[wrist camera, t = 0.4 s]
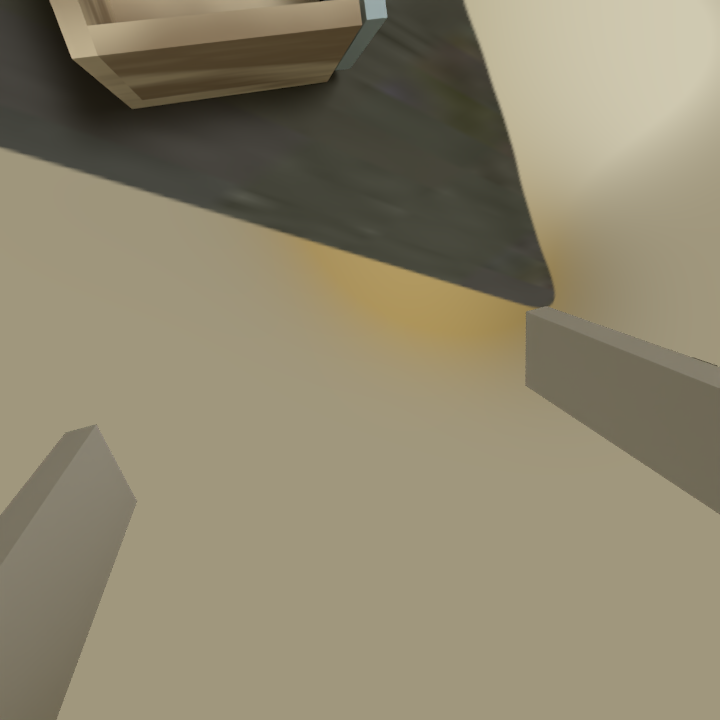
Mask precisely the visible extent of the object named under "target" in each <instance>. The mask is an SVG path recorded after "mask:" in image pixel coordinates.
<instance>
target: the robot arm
mask: <svg viewBox="0 0 720 720" xmlns="http://www.w3.org/2000/svg"><path fill="white" fill-rule="evenodd" d="M526 386H527V387H529V388H530V389H532V390H533V391H535V392H536V393H538V394H539V395H541V396H542V397H544V398H545V399H547V400H548V401H550V402H551V403H553V404H554V405H556V406H557V407H559V408H560V409H562V410H563V411H565V412H566V413H568V414H569V415H571V416H572V417H574V418H575V419H577V420H578V421H580V422H581V423H583V424H584V425H586V426H588V427H589V428H590V429H592V430H593V431H595V432H597V433H598V434H599V435H601V436H602V437H604V438H605V439H607V440H609V441H610V442H612V443H613V444H615V445H616V446H618V447H619V448H621V449H622V450H624V451H625V452H627V453H628V454H630V455H631V456H633V457H634V458H636V459H637V460H639V461H640V462H642V463H643V464H645V465H646V466H648V467H649V468H651V469H652V470H654V471H655V472H657V473H658V474H660V475H662V476H663V477H664V478H666V479H667V480H669V481H670V482H672V483H673V484H675V485H677V486H678V487H679V488H681V489H682V490H684V491H686V492H687V493H688V494H690V495H691V496H693V497H694V498H696V499H698V500H699V501H701V502H702V503H704V504H705V505H707V506H708V507H710V508H711V509H713V510H714V511H716V512H717V513H719V514H720V367H718V366H717V365H713V364H711V363H708V362H705V361H702V360H699V359H696V358H693V357H689V356H686V355H684V354H681V353H678V352H675V351H672V350H669V349H666V348H664V347H661V346H658V345H655V344H652V343H649V342H647V341H644V340H641V339H638V338H635V337H632V336H630V335H627V334H624V333H621V332H618V331H615V330H613V329H609V328H607V327H604V326H601V325H598V324H595V323H592V322H590V321H587V320H584V319H581V318H578V317H576V316H573V315H570V314H567V313H564V312H561V311H558V310H556V309H553V308H550V307H547V306H546V307H542V308H538V309H535V310H531V311H527V312H526ZM136 503H137V501H136V499H135V497H134V495H133V493H132V491H131V489H130V487H129V485H128V483H127V481H126V480H125V478H124V476H123V474H122V472H121V470H120V468H119V466H118V465H117V462H116V461H115V459H114V457H113V455H112V453H111V451H110V449H109V447H108V445H107V443H106V442H105V440H104V438H103V436H102V434H101V432H100V430H99V428H98V426H97V425H92V426H89V427H85V428H81V429H77V430H73V431H70V432H66V433H65V434H64V435H63V437H62V438H61V439H60V440H59V442H58V443H57V444H56V446H55V447H54V448H53V449H52V451H51V452H50V453H49V455H48V456H47V457H46V458H45V459H44V461H43V462H42V463H41V465H40V466H39V467H38V468H37V470H36V471H35V472H34V473H33V475H32V476H31V477H30V479H29V480H28V481H27V482H26V484H25V485H24V486H23V488H22V489H21V490H20V491H19V492H18V494H17V495H16V496H15V498H14V499H13V500H12V501H11V503H10V504H9V505H8V506H7V508H6V509H5V510H4V511H3V513H2V514H1V515H0V720H56V719H57V716H58V714H59V711H60V708H61V705H62V703H63V700H64V697H65V695H66V692H67V689H68V687H69V684H70V681H71V678H72V676H73V673H74V670H75V667H76V665H77V662H78V659H79V657H80V654H81V651H82V648H83V646H84V643H85V641H86V638H87V635H88V632H89V630H90V627H91V624H92V622H93V619H94V616H95V614H96V611H97V608H98V605H99V603H100V600H101V597H102V594H103V592H104V589H105V587H106V584H107V581H108V578H109V576H110V573H111V570H112V568H113V565H114V562H115V559H116V557H117V554H118V551H119V548H120V546H121V543H122V541H123V538H124V535H125V532H126V530H127V527H128V524H129V522H130V519H131V516H132V514H133V511H134V508H135V505H136Z"/></svg>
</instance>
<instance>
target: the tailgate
mask: <svg viewBox="0 0 720 720" xmlns="http://www.w3.org/2000/svg"><path fill="white" fill-rule="evenodd" d="M324 1H331V0H324ZM359 4H360V11H361V19H362V26H361V28H360V30H359V31H358V33H357V34H356V36H355V38H354V39H353V41H352V42H351V44H350V46H349V47H348V49H347V51H346V52H345V54H344V55H343V57H342V59H341V60H340V62H339V63H338V65H337V67H336V68H335V71H336V70H344V69H350V68H351V67H352V65H353V64H354V63H355V61H356V60H357V59H358V57H359V56H360V54H361V53H362V52H363V50H364V49H365V48H366V46H367V45H368V43H369V42H370V41H371V39H372V38H373V36H374V35H375V34H376V32H377V31H378V30H379V28H380V27H381V25H382V24H383V23H384V21H385V20H386V19H387V11H386V3H385V0H359Z"/></svg>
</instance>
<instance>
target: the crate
mask: <svg viewBox="0 0 720 720" xmlns="http://www.w3.org/2000/svg"><path fill="white" fill-rule="evenodd" d="M50 3H51V5H52V8H53V11H54V13H55V16H56V19H57V21H58V24H59V26H60V29H61V32H62V34H63V37H64V39H65V42H66V45H67V47H68V50H69V53H70V55H71V58H72V59H73V60H74V61H75V62H76V63H78V64H79V65H80V66H81V67H82V68H84V69H85V70H86V71H87V72H88V73H90V74H91V75H92V76H93V77H94V78H95V79H97V80H98V81H99V82H100V83H101V84H103V85H104V86H105V87H106V88H107V89H109V90H110V91H111V92H112V93H113V94H115V95H116V96H117V97H118V98H119V99H121V100H122V101H123V102H124V103H125V104H127V105H128V106H129V107H130V108H131V109H137V108H144V107H151V106H158V105H165V104H172V103H179V102H187V101H194V100H201V99H208V98H215V97H222V96H230V95H237V94H244V93H251V92H258V91H265V90H272V89H280V88H287V87H294V86H301V85H308V84H315V83H323V82H327V81H328V80H329V78H330V76H331V75H332V73H333V72H334V70H335V68H336V67H337V65H338V63H339V62H340V60H341V59H342V57H343V55H344V54H345V52H346V51H347V49H348V47H349V46H350V44H351V42H352V41H353V39H354V38H355V36H356V34H357V33H358V31H359V30H360V28H361V26H362V19H361V11H360V4H359V0H331V1H321V2H320V1H319V0H50Z"/></svg>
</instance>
